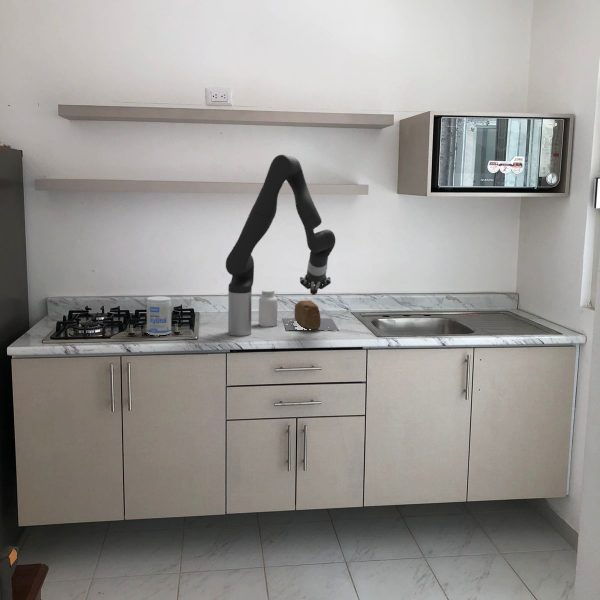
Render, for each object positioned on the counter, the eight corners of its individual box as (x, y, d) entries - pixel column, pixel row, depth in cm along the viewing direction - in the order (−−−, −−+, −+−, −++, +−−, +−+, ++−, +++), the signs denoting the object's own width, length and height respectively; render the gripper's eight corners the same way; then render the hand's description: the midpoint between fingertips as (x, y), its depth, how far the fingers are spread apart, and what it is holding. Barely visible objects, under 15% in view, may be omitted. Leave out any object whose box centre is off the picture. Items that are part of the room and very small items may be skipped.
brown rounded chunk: (304, 331, 305) (293, 321, 324) (321, 330, 307) (310, 320, 326) (303, 305, 303) (292, 297, 322) (321, 304, 305) (309, 296, 324)
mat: (286, 331, 306) (286, 330, 306) (282, 318, 330) (282, 318, 330) (339, 330, 308) (339, 330, 308) (331, 319, 332) (331, 318, 332)
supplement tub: (149, 337, 290) (149, 300, 288) (144, 332, 299) (143, 296, 296) (174, 336, 294) (173, 299, 291) (168, 331, 303) (167, 295, 300)
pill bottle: (259, 327, 312) (259, 292, 310) (257, 323, 320) (257, 288, 317) (278, 327, 314) (278, 291, 311) (275, 322, 321) (276, 288, 319)
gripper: (333, 260, 293) (328, 285, 307) (299, 259, 292) (296, 285, 306) (334, 275, 289) (330, 300, 303) (300, 275, 288) (297, 300, 302)
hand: (313, 293), depth 305 cm, fingers closed
